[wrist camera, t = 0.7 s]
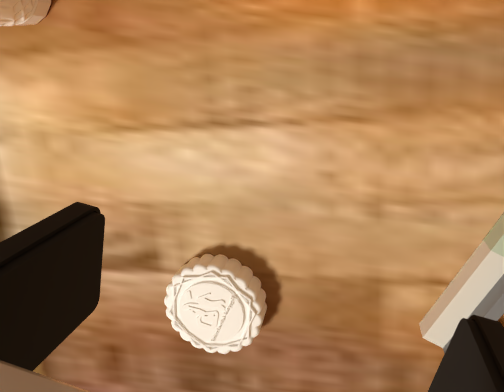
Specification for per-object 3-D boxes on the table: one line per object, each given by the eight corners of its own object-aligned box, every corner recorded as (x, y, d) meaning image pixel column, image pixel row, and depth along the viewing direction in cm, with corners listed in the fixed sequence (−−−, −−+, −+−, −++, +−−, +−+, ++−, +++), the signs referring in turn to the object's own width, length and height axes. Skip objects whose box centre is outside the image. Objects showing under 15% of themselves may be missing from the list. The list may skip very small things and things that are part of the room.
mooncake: (191, 235, 49) (180, 248, 46) (283, 281, 49) (278, 297, 45) (161, 311, 54) (149, 328, 51) (245, 354, 53) (238, 373, 50)
